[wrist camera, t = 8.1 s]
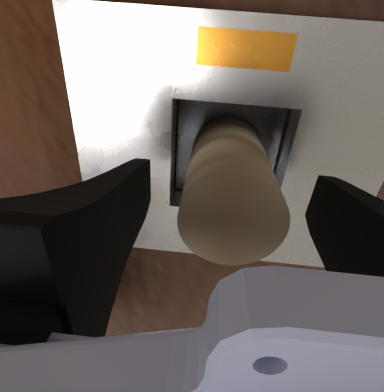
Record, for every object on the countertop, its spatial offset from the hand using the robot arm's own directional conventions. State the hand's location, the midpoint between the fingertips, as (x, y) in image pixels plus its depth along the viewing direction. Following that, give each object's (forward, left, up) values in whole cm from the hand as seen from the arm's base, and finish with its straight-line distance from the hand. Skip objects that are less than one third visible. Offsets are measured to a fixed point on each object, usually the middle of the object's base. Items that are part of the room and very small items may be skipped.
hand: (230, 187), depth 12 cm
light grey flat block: (0, 0, -5) cm, 5 cm away
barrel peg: (0, 0, -4) cm, 5 cm away
